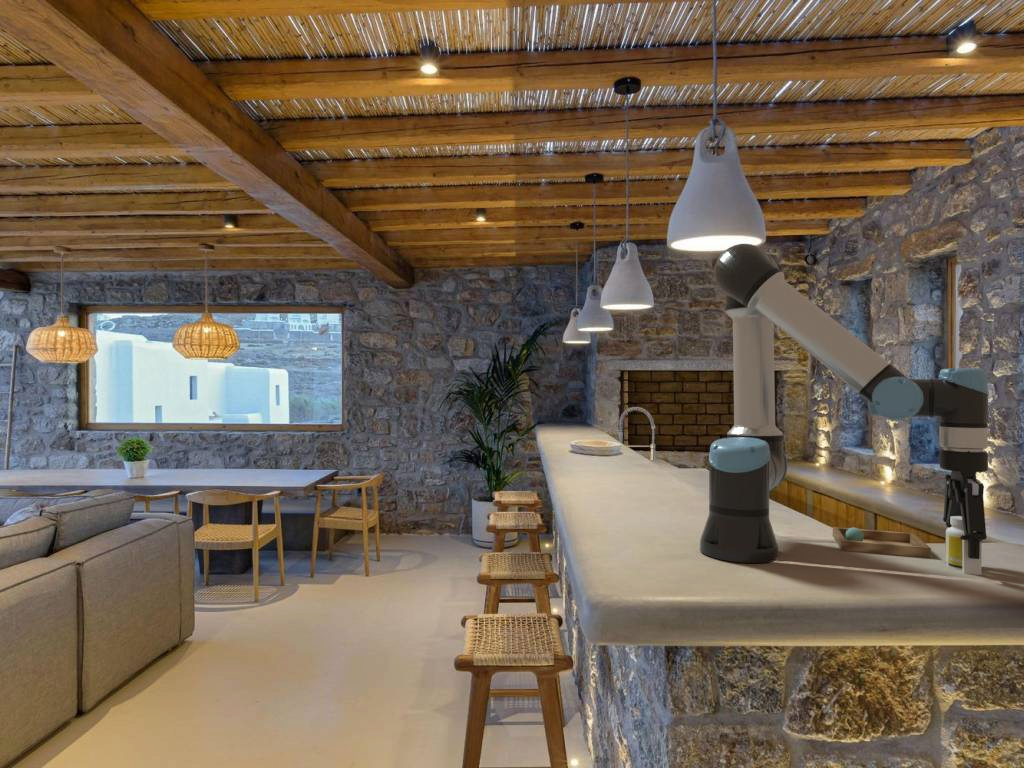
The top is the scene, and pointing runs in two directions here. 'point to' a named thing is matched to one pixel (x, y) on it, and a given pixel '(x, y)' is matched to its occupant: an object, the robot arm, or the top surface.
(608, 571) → the top surface
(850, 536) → the ball
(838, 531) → the tray
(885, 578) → the top surface
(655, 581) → the top surface
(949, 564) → the supplement bottle
